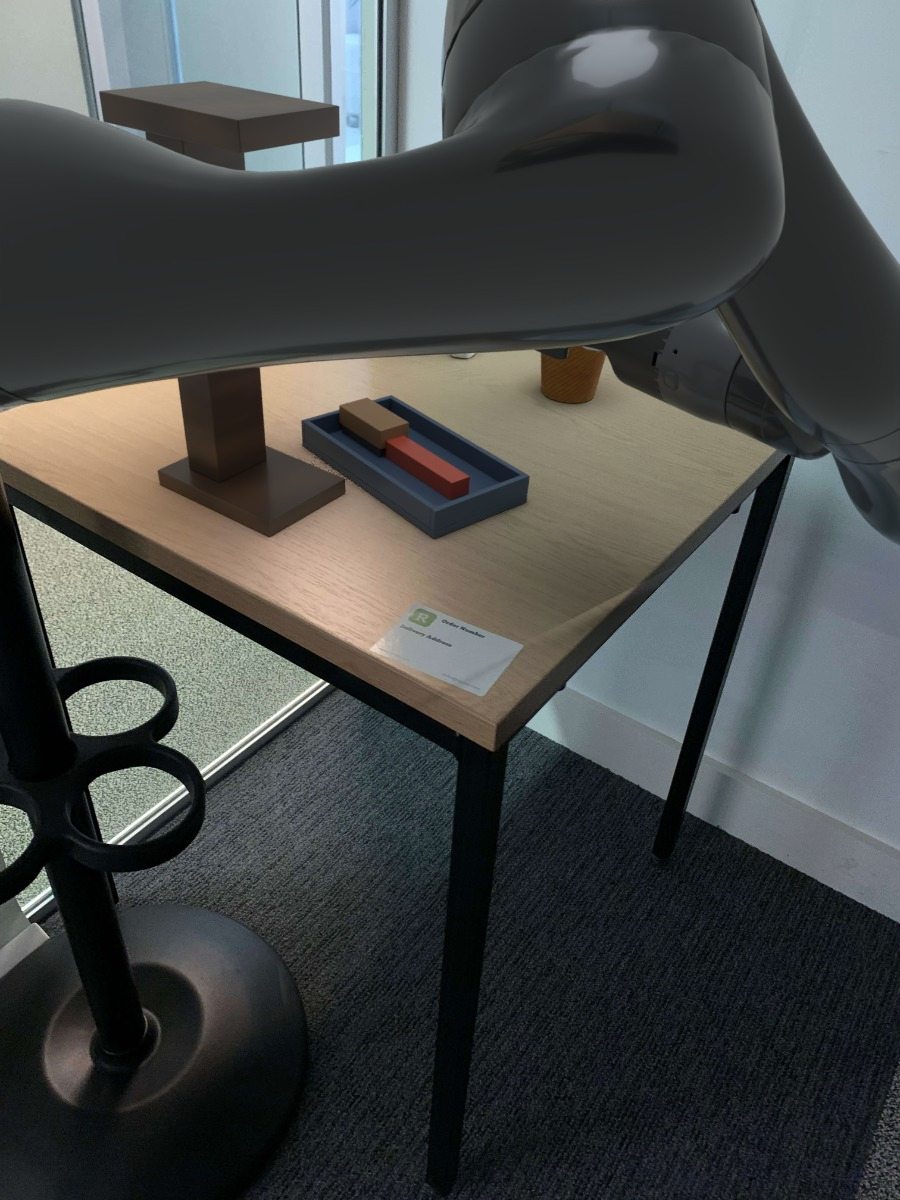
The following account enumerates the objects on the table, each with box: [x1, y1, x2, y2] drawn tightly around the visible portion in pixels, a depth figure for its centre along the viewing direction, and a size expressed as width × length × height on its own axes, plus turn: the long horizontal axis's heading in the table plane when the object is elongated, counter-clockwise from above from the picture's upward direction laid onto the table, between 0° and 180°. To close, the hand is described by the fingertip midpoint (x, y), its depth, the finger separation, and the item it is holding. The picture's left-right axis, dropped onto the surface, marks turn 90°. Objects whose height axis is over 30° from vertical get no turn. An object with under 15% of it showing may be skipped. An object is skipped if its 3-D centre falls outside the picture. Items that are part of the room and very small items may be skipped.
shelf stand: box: [98, 80, 347, 538], centre depth 74 cm, size 14×10×32 cm
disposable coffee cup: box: [540, 346, 607, 404], centre depth 102 cm, size 10×10×12 cm
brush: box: [338, 397, 470, 500], centre depth 87 cm, size 17×4×3 cm, turn 40°
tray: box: [300, 394, 531, 540], centre depth 87 cm, size 21×11×3 cm, turn 40°
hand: (525, 280), depth 67 cm, fingers open, 8 cm apart
